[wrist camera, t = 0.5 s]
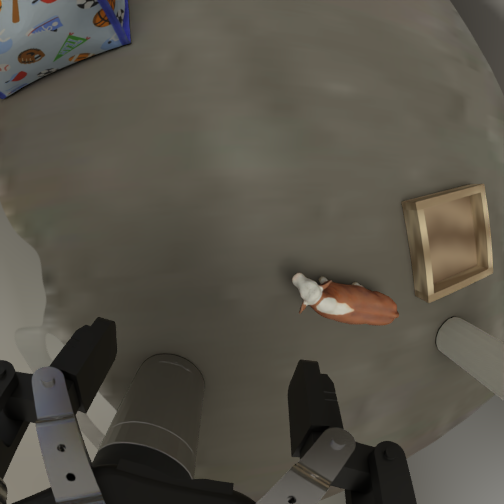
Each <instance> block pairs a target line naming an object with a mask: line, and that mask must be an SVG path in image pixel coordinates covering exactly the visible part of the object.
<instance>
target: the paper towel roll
mask: <svg viewBox="0 0 504 504" xmlns="http://www.w3.org/2000/svg"><path fill="white" fill-rule="evenodd" d="M436 345H437V348H438V350H439V351H441V352H442V353H443V354H444V355H446V356H447V357H448V358H450V359H451V360H452V361H454V362H455V363H456V364H457V365H459V366H460V367H461V368H463V369H464V370H465V371H467V372H468V373H469V374H470V375H472V376H473V377H474V378H475V379H477V380H478V381H479V382H481V383H482V384H483V385H484V386H486V387H487V388H488V389H489V390H491V391H492V392H493V393H494V394H496V395H497V396H498V397H499V398H501V399H502V400H503V401H504V342H502V341H500V340H498V339H497V338H495V337H493V336H492V335H490V334H488V333H486V332H485V331H483V330H481V329H479V328H477V327H476V326H474V325H472V324H470V323H469V322H467V321H465V320H463V319H461V318H458V317H453V318H450V319H448V320H447V321H446V322H445V323H444V324H443V325H442V326H441V328H440V329H439V332H438V334H437V337H436Z"/></svg>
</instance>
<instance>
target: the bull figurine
mask: <svg viewBox="0 0 504 504" xmlns="http://www.w3.org/2000/svg"><path fill="white" fill-rule="evenodd" d="M292 282H293V284H294V285H295V286H296V287H297V288H298V290H299V292H300V295H301V297H302V298H303V299H304V301H303V303H302V305H301V308H300V311H299V314H300V313H301V312H302V311H303V310H304V309H305V308H306V306H307V305H310V306H311V307H312V308H313V309H314V310H315V311H316V312H317V313H318V314H320V315H321V316H323V317H325V318H328V319H333V320H336V321H338V322H343V323H348V324H369V325H387V324H390V323H391V322H392V321H393V320H394V318H397V317H398V316H399V313H398V312H397V305H396V303H395V302H394V301H393V300H392V299H391V298H390V297H388V296H386V295H384V294H382V293H380V292H377V291H373V292H372V291H371V290H367V289H366V288H364V287H363V286H362V285H360V284H358V283H357V282H353V283H352V284H351V285H345V284H339V283H335V282H332V280H327V279H326V278H325V277H323V276H322V277H320V278H319V283H321V284H320V285H318V284H317V283H316V282H315V281H313V280H311V279H308V278H306V277H305V276H304V275H303V274H302V273H297V274H295V275H294V276H293V278H292Z"/></svg>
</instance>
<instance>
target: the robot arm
mask: <svg viewBox="0 0 504 504" xmlns="http://www.w3.org/2000/svg"><path fill="white" fill-rule="evenodd" d="M116 353H117V341H116V325H115V322H114V321H111V320H107V319H104V318H101V317H98V318H97V319H96V320H95V321H94V323H93V324H92V325H91V326H88V325H85V326H83V327H81V328H80V329H78V330H76V332H75V333H74V334H73V336H72V337H71V339H69V341H68V342H67V343H66V345H65V346H64V347H63V349H62V350H61V352H60V353H59V354H58V355H57V357H56V358H55V359H54V361H53V362H52V363H51V365H50V366H49V367H42V368H40V369H38V370H37V371H36V372H35V373H34V374H27V373H21V372H15V369H14V367H13V365H12V364H11V363H9V362H7V361H4V360H0V504H6V500H7V487H6V484H5V482H4V481H3V478H4V476H5V473H6V471H7V469H8V467H9V465H10V462H11V460H12V458H13V456H14V454H15V451H16V449H17V447H18V445H19V443H20V441H21V439H22V437H23V435H24V433H25V431H26V429H27V427H28V425H29V423H30V422H33V423H36V429H37V434H38V438H39V443H40V448H41V452H42V456H43V460H44V464H45V468H46V471H47V475H48V478H49V482H50V485H51V487H50V488H48V489H46V490H44V491H41V492H39V493H37V494H35V495H32V496H30V497H27V498H25V499H22V500H20V501H17V502H15V503H12V504H317V503H318V502H319V501H320V499H321V498H322V497H323V496H324V494H325V493H326V492H327V490H328V489H329V487H330V486H335V487H339V488H343V489H345V497H346V504H417V503H416V498H415V494H414V490H413V485H412V481H411V476H410V472H409V469H408V464H407V460H406V456H405V453H404V451H403V449H402V448H401V447H400V446H399V445H398V444H396V443H394V442H391V441H384V442H381V443H379V444H378V445H377V446H376V447H372V446H368V445H364V444H361V443H358V442H356V441H355V439H354V437H353V436H352V435H351V434H350V433H349V432H348V431H346V430H344V428H343V424H342V419H341V415H340V410H339V405H338V402H337V397H336V394H335V388H334V383H333V382H332V380H331V379H330V378H329V376H328V375H327V374H320V369H319V364H318V362H317V361H309V360H300V361H299V362H298V365H297V367H296V370H295V372H294V375H293V377H292V379H291V382H290V385H289V389H288V407H289V422H290V437H291V454H292V457H300V461H299V462H298V463H297V464H295V465H293V466H292V468H291V469H290V470H289V471H288V472H287V473H286V474H285V475H284V476H283V477H282V478H281V479H280V480H279V481H278V482H277V483H276V484H275V485H274V486H273V487H272V488H271V489H270V490H269V491H268V492H267V493H266V494H265V495H264V496H263V497H262V498H261V499H260V500H259V501H258V502H257V503H256V502H255V501H253V500H252V499H250V498H249V497H247V496H246V495H244V494H242V493H240V492H237V491H235V490H233V484H234V483H227V482H221V481H214V480H208V479H194V473H195V462H196V454H197V445H198V437H199V428H200V420H201V412H202V405H203V397H204V388H205V385H204V379H203V377H202V375H201V373H200V372H199V370H198V369H197V368H196V367H195V366H194V365H193V364H192V363H191V362H189V361H188V360H186V359H184V358H182V357H179V356H176V355H171V354H161V355H155V356H153V357H150V358H149V359H147V360H146V361H145V362H144V363H143V364H142V365H141V367H140V369H139V370H138V372H137V374H136V376H135V378H134V380H133V381H132V383H131V385H130V387H129V389H128V391H127V393H126V395H125V397H124V399H123V401H122V403H121V405H120V407H119V409H118V411H117V413H116V415H115V417H114V419H113V421H112V423H111V425H110V427H109V429H108V431H107V433H106V435H105V437H104V440H103V442H102V444H101V446H100V448H99V450H98V452H97V454H96V456H95V458H94V461H93V462H91V460H90V457H89V454H88V452H87V449H86V446H85V443H84V440H83V438H82V434H81V431H80V428H79V425H78V421H77V418H76V413H77V411H81V412H83V413H87V411H88V409H89V407H90V405H91V403H92V401H93V399H94V397H95V396H96V393H97V392H98V390H99V388H100V386H101V384H102V382H103V381H104V379H105V377H106V375H107V373H108V371H109V369H110V368H111V366H112V364H113V362H114V360H115V357H116Z"/></svg>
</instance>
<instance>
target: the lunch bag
mask: <svg viewBox="0 0 504 504" xmlns="http://www.w3.org/2000/svg"><path fill="white" fill-rule="evenodd" d="M130 43H131V39H130V27H129V9H128V0H0V98H1V99H4V98H6V97H7V96H9V95H11V94H13V93H14V92H16V91H17V90H19V89H21V88H22V87H24V86H26V85H28V84H30V83H32V82H33V81H35V80H37V79H39V78H41V77H43V76H46V75H48V74H50V73H52V72H54V71H57V70H59V69H61V68H63V67H66V66H68V65H70V64H73V63H75V62H77V61H80V60H83V59H85V58H88V57H91V56H93V55H96V54H99V53H102V52H104V51H107V50H110V49H113V48H116V47H119V46H122V45H126V44H130Z"/></svg>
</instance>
